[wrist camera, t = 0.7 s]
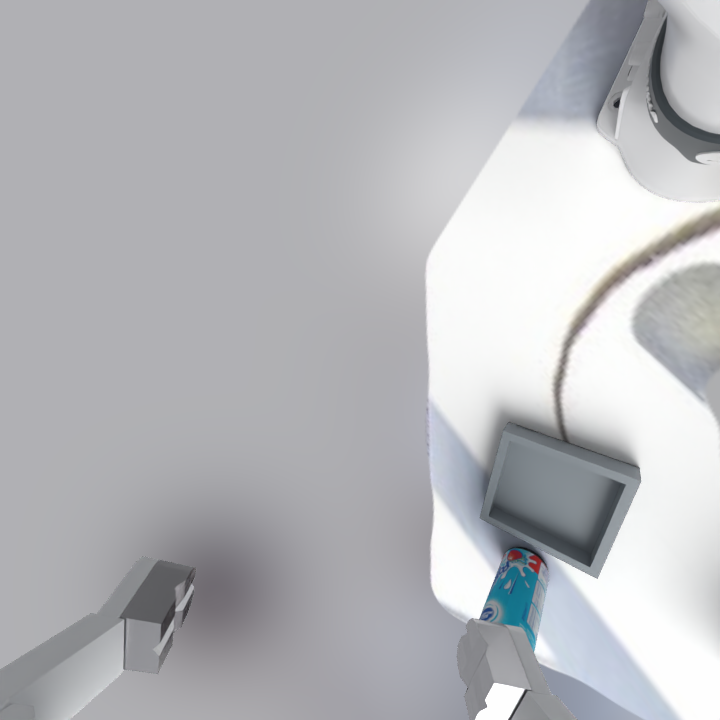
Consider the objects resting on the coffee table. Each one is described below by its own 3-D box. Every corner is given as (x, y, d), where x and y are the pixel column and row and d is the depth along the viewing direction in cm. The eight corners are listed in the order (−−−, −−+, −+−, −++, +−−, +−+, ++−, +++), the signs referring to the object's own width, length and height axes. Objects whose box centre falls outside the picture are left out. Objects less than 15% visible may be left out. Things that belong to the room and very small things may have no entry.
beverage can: (524, 537, 48) (494, 627, 36) (560, 574, 46) (541, 681, 34) (495, 555, 51) (459, 642, 39) (528, 590, 49) (501, 692, 37)
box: (508, 422, 45) (503, 430, 43) (639, 467, 38) (641, 481, 36) (485, 506, 50) (479, 518, 48) (598, 561, 43) (597, 578, 40)
